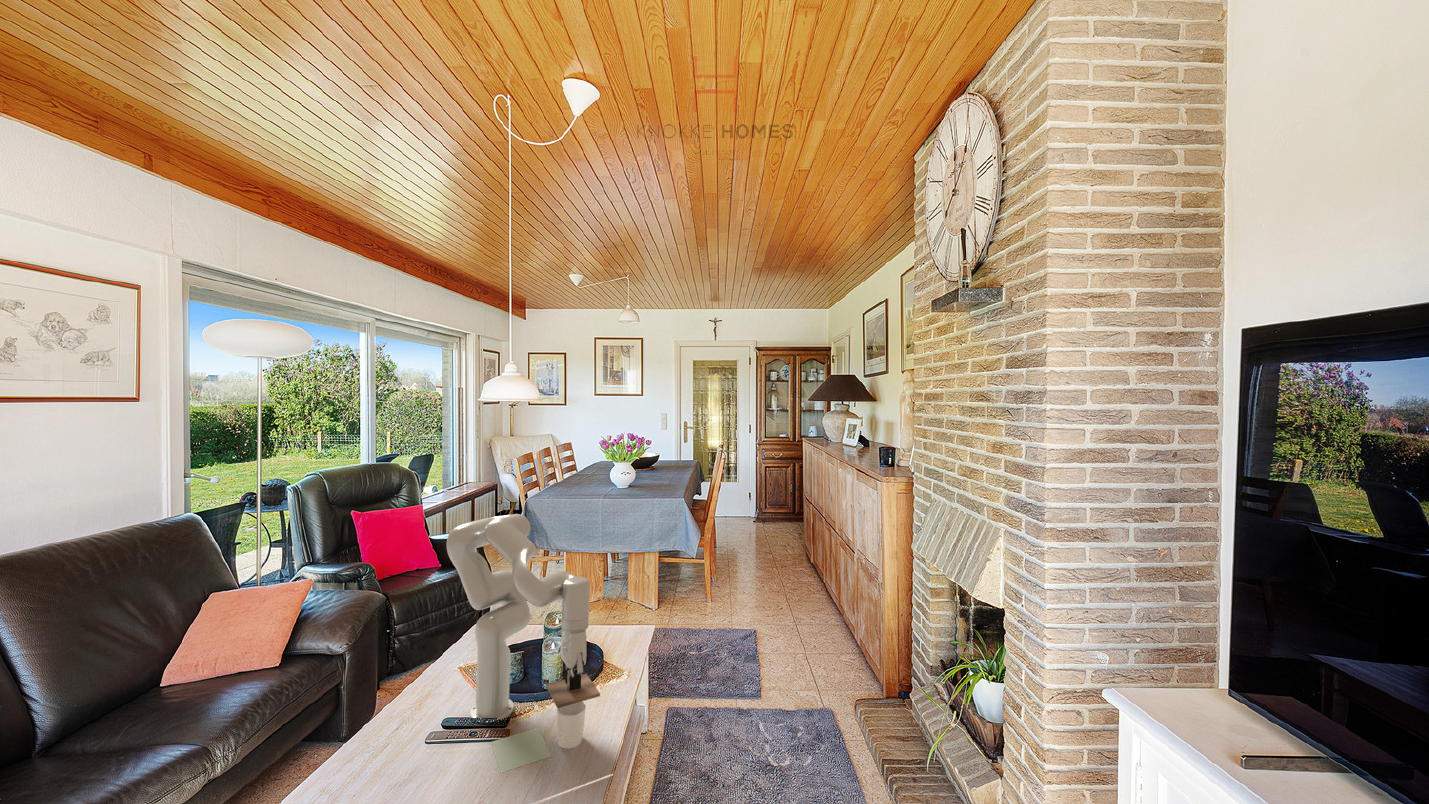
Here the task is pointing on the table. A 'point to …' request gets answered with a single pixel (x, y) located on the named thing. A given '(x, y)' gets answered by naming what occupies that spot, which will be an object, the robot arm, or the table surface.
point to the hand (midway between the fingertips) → (572, 685)
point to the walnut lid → (567, 697)
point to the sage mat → (520, 750)
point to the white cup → (570, 724)
